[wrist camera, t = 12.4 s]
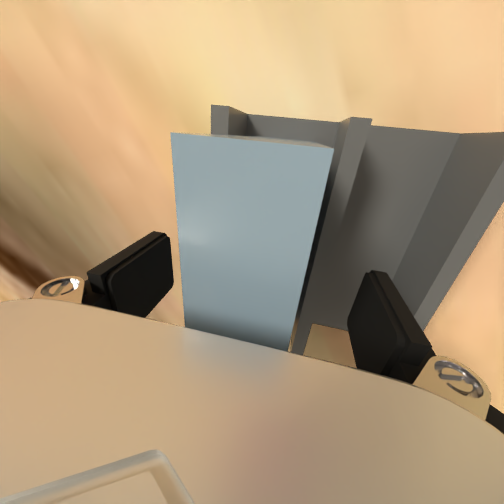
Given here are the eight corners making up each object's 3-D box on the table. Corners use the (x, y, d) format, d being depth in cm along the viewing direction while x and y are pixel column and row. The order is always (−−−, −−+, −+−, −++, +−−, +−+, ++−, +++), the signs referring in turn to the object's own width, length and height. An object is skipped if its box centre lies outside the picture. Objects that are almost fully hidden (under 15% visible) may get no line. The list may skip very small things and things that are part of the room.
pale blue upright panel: (261, 136, 13) (170, 132, 4) (314, 141, 13) (333, 148, 4) (246, 299, 19) (193, 443, 10) (282, 307, 18) (261, 464, 9)
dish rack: (219, 295, 20) (199, 332, 16) (225, 113, 14) (193, 103, 10) (384, 330, 18) (406, 382, 14) (482, 137, 12) (572, 136, 8)
